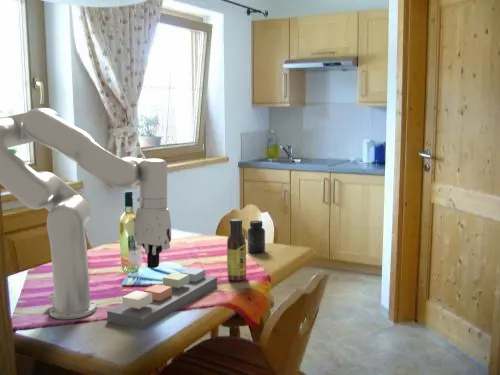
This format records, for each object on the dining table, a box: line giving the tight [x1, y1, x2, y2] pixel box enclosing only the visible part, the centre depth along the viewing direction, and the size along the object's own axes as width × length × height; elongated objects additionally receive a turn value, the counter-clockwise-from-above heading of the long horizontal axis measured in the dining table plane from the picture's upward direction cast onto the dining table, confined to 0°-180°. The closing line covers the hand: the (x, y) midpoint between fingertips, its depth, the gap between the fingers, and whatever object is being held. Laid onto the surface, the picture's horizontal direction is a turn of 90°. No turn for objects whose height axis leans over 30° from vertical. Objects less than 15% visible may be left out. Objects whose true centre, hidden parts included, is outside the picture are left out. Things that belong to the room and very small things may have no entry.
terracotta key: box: [143, 283, 172, 301], centre depth 156 cm, size 6×6×2 cm
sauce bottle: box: [226, 218, 247, 282], centre depth 179 cm, size 7×6×20 cm
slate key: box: [179, 266, 206, 282], centre depth 172 cm, size 6×6×2 cm
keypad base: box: [106, 275, 218, 331], centre depth 160 cm, size 12×37×3 cm, turn 152°
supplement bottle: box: [247, 220, 266, 255], centre depth 212 cm, size 7×7×12 cm
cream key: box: [122, 290, 152, 309], centre depth 148 cm, size 6×6×2 cm
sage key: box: [162, 272, 189, 288], centre depth 164 cm, size 6×6×2 cm
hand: (153, 266), depth 155 cm, fingers closed
